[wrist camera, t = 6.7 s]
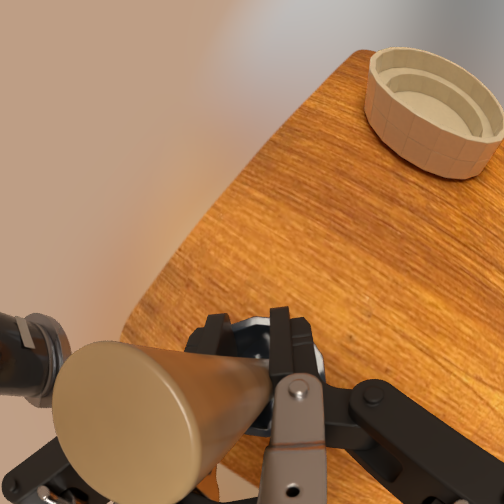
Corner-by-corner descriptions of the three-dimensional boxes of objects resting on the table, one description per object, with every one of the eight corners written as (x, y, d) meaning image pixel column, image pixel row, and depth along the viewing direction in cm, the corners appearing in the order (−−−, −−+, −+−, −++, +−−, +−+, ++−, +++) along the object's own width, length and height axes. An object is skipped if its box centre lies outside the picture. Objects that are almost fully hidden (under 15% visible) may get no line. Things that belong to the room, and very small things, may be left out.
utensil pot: (222, 394, 18) (184, 409, 11) (251, 320, 20) (225, 299, 13) (298, 421, 16) (297, 452, 10) (327, 345, 18) (342, 336, 12)
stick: (257, 379, 17) (39, 443, 2) (266, 355, 18) (73, 310, 2) (282, 388, 17) (169, 539, 1) (292, 364, 17) (230, 394, 2)
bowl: (356, 155, 23) (364, 105, 18) (368, 74, 28) (372, 36, 22) (493, 202, 19) (523, 167, 14) (474, 110, 24) (487, 77, 18)
